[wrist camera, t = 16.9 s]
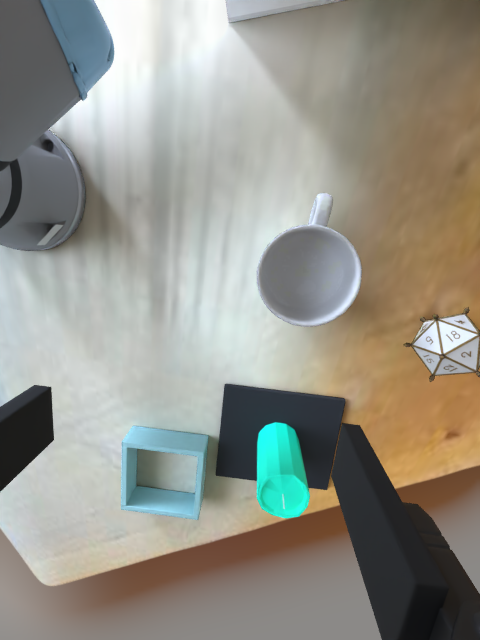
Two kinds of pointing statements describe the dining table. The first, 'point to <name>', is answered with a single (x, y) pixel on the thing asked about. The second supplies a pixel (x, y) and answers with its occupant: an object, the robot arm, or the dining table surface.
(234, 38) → the dining table surface
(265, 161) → the dining table surface
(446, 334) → the game die
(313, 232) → the teacup
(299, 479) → the candle
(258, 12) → the white lidded jar
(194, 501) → the tub
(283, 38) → the dining table surface
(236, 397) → the mat
